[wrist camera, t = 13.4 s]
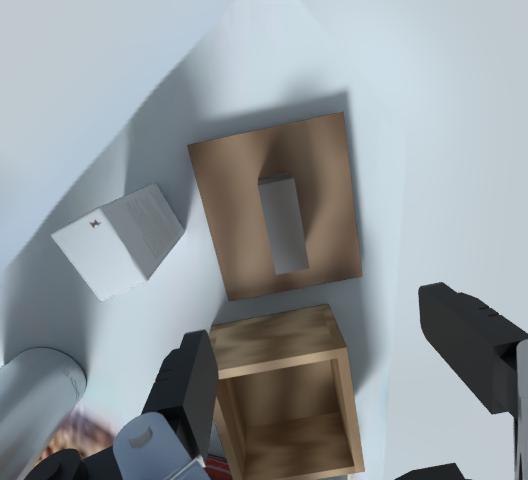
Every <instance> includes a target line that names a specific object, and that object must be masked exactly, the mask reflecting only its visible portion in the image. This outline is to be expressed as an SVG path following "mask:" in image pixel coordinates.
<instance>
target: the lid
mask: <svg viewBox="0 0 528 480" xmlns="http://www.w3.org/2000/svg"><path fill="white" fill-rule="evenodd" d="M187 147H188V150H189V154H190V158H191V162H192V165H193V169H194V173H195V177H196V180H197V184H198V188H199V192H200V195H201V199H202V203H203V207H204V210H205V214H206V218H207V222H208V225H209V229H210V233H211V237H212V240H213V244H214V248H215V252H216V255H217V259H218V263H219V267H220V270H221V274H222V278H223V282H224V285H225V289H226V293H227V297H228V300H229V301H235V300H240V299H245V298H251V297H256V296H261V295H266V294H272V293H277V292H282V291H287V290H293V289H298V288H303V287H309V286H314V285H319V284H324V283H330V282H335V281H340V280H346V279H351V278H356V277H361V276H362V269H361V260H360V251H359V243H358V234H357V226H356V217H355V208H354V200H353V191H352V182H351V174H350V165H349V156H348V148H347V139H346V131H345V122H344V113H343V112H340V113H335V114H330V115H326V116H321V117H316V118H312V119H307V120H302V121H298V122H293V123H288V124H284V125H279V126H274V127H270V128H265V129H260V130H256V131H251V132H246V133H242V134H237V135H233V136H228V137H223V138H219V139H214V140H209V141H205V142H200V143H195V144H191V145H187Z"/></svg>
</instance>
